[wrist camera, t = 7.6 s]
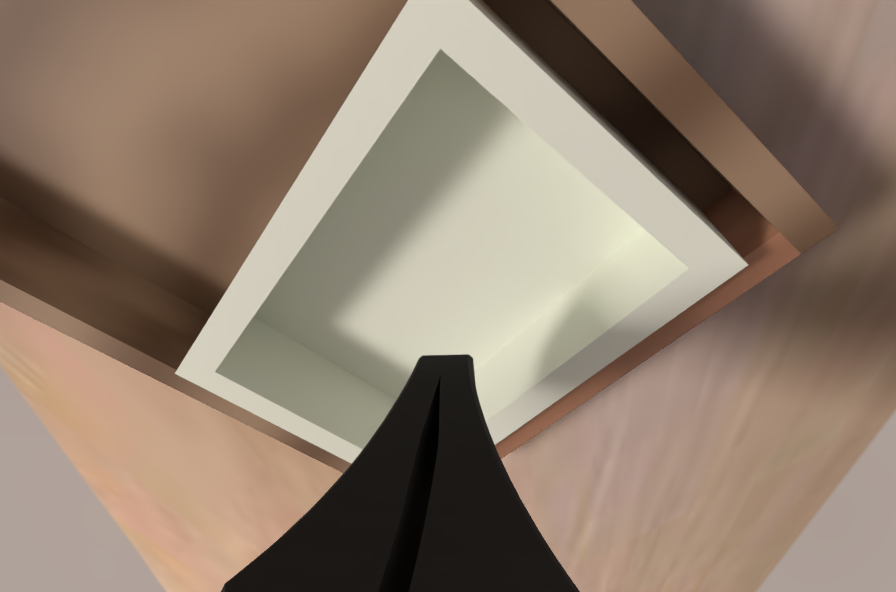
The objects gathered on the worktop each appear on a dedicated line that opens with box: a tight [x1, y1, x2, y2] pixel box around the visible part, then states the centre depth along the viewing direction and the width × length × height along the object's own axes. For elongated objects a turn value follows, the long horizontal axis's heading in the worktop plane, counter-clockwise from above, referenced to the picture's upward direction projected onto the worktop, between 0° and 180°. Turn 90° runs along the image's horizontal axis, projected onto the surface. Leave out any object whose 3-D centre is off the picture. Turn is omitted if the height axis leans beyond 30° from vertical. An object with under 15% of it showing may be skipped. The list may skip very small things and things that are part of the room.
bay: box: [0, 0, 839, 473], centre depth 14 cm, size 24×18×4 cm
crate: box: [175, 0, 748, 464], centre depth 15 cm, size 10×14×4 cm
